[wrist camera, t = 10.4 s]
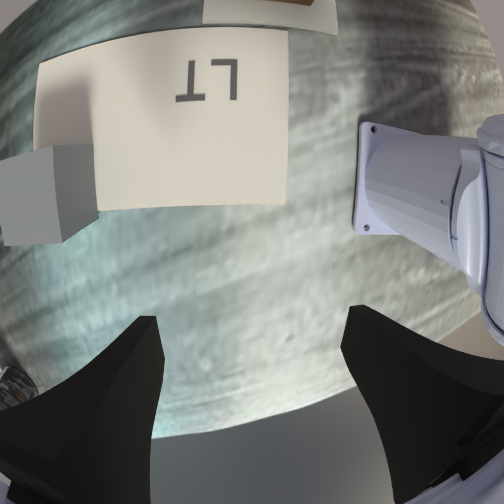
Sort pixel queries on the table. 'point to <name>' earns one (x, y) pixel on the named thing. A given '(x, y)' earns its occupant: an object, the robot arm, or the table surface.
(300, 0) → the walnut block
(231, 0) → the white square plate
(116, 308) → the table surface
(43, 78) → the mat
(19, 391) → the pill bottle
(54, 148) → the slate block
